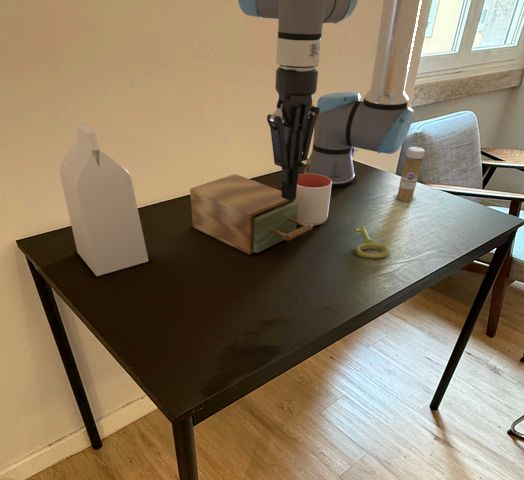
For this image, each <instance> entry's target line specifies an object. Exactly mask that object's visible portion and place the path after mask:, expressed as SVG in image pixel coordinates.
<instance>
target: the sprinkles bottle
mask: <svg viewBox="0 0 524 480" xmlns="http://www.w3.org/2000/svg"><path fill="white" fill-rule="evenodd" d="M424 155H425V149H424V148H422V147H418V146H409V147H407V149H406V153H405V161H404V165H403V168H402V172H401V176H400V180H399V187H398V192H397V194H396V198H397V199H398V200H400V201H405V202H409V201H412V200H413V198H414V192H415V189H416V186H417V183H418V178H419V174H420V170H421V164H422V162H423V158H424V157H425V156H424Z"/></svg>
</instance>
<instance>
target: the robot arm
mask: <svg viewBox="0 0 524 480" xmlns="http://www.w3.org/2000/svg"><path fill="white" fill-rule="evenodd" d="M358 1H359V0H237V2H238V6H239V8H240V10H241V12H242V13H243V14H245V16H247V17H248V16H249V17H255V18H258V19H273V20H278V25H277V26H278V27H277V28H278V29H277V37H276V38H277V39H276V40H277V41H276V59H275V63H276V64H277V65H278V66H279V67H277V69H276V70H275V85H274V86H275V87H274V88H275V91H276V92H277V94H278V100H277V103H276V110H275V111H274V112H273V113H272V114H271V113H268V114H267V115H266V122H267V123H268V126H269V128H270V129H269V130H270V137H271V145H272V153H273V162H274V165H275V166H277V167H280V168H281V177H280V182H281V191H282V196H281V197H282V198H284V199H287V200H290V201H292V200H295V199H296V189H297V181H298V175H299V173H300V168H304V171H303V172H304V173H303V174H319V175H323V176H326V177H328V178H329V179H331V181H332V187H344V186H348V185H350V184H351V183H353V182H354V178H355V170H354V163H353V157H354V155H355V154H356V153H355V152H356V148H357V149H362V150H366V151H372V152H376V153H377V154H389V155H390V154H391V155H392V154H395V153H396V152H397V151H399V150H400V149H401V147H402V145H403V144H404V142H405V140H406V138H407V136H408V133H409V132H410V128H411V125H412V121H413V117H414V110H413V109H412V108H411V107H408V104H409V97H408V95H407V94H406V92H405V90H406V89H405V88H406V84H407V79H408V74H409V67H410V62H411V58H412V57H411V56H412V51H413V47H414V43H415V42H414V41H415V36H416V31H417V27H418V20H419V15H420V9H421V5H422V0H383V2H382V10H381V16H380V22H379V29H378V30H379V31H378V36H377V42H376V43H377V44H376V50H375V55H374V56H375V57H374V64H373V71H372V76H371V77H372V78H371V83H370V89H369V90H368V92H366V93H365V94H364V95H363V99H362V100H360V99H361V95H360V93H358V92H353V91H343V92H333V93H327V94H324V95H322V96H319V98H318V100H317V102H316V106H315V105H314V104H313V95H314V94H315V93H316V92H317V90H318V78H319V71H318V69H317V68H316V67H318V66H319V65H320V55H321V43H322V35H323V25H324V24H334V25H335V24H338V23H340V22H342V21H345V20H346V19H348V18H349V17H350V16H351V15H352V14H353V13H354V11H355V9H356V7H357V5H358ZM312 138H313V140H312ZM311 143H312V149H311V153H310V148H311ZM309 153H310V155H309ZM308 156H309V158H308ZM305 164H306V166H305ZM304 166H305V167H304Z"/></svg>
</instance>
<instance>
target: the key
mask: <svg viewBox="0 0 524 480" xmlns="http://www.w3.org/2000/svg"><path fill="white" fill-rule="evenodd" d="M353 230H354V233H361V235H362V237H363V240H364V243H361V244H359V245H357V247H356V249H355V253H356V255H357V256H359V257H361V258H366V259H381V258H385V257H387V256H388V254H389V248H388V246H386V245H385V244H381V243H378V242H377V243H376V242H375V243H374V240H373V239H371V238H370V236H369V234H368V232H367V229H366V227H365V226H361V227H354V229H353ZM363 250H378V251H382V252H379V253H369V252H365V251H363Z"/></svg>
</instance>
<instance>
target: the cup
mask: <svg viewBox="0 0 524 480" xmlns="http://www.w3.org/2000/svg"><path fill="white" fill-rule="evenodd" d="M298 174H299V173H298ZM332 187H333V186H332V181H331V179H329V178H328V177H326V176H323V175H319V174H304V173H300V174H299V175H298V181H297V189H296V199H295V200H294V201H295V202H298V212H297V221H300V222H302V223H305V224H312V226H313V227H314V226H320V225H322V224H324V223H325V222H326V221H327V219H328V217H329V209H330V201H331V194H332Z"/></svg>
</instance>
